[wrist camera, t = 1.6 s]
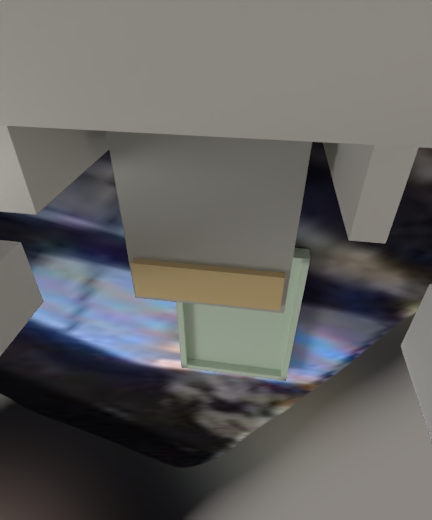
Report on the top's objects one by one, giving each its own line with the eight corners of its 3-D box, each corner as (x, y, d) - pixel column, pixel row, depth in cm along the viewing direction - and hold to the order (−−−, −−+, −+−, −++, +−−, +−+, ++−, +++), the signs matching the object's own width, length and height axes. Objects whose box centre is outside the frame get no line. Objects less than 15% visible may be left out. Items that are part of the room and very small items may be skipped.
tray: (184, 356, 34) (181, 367, 33) (175, 237, 26) (171, 246, 25) (285, 369, 33) (285, 380, 32) (309, 249, 25) (310, 259, 24)
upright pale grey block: (190, 183, 23) (132, 302, 14) (182, -8, 17) (76, -9, 8) (283, 190, 23) (284, 319, 14) (308, -8, 17) (338, -7, 8)
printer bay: (121, 90, 20) (-104, 225, 9) (97, -78, 16) (-406, -267, 4) (325, 98, 19) (396, 270, 7) (357, -82, 15) (646, -371, 3)
